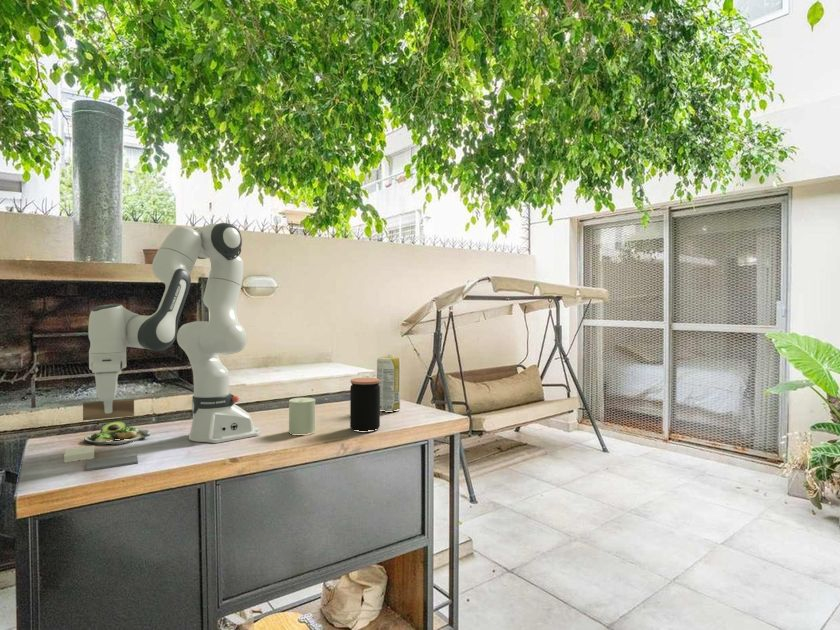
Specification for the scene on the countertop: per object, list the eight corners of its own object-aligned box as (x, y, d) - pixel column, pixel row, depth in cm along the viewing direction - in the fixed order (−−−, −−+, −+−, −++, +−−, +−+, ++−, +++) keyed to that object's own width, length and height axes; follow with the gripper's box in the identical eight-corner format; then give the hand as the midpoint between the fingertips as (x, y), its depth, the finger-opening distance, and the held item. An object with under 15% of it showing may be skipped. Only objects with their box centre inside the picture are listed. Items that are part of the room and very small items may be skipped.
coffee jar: (371, 424, 186) (371, 376, 185) (385, 430, 177) (385, 380, 176) (345, 428, 180) (345, 378, 180) (358, 434, 171) (358, 382, 171)
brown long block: (83, 418, 136) (83, 402, 136) (134, 413, 142) (134, 398, 142) (82, 420, 134) (82, 404, 134) (133, 416, 140) (133, 400, 140)
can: (287, 436, 168) (287, 401, 167) (289, 429, 177) (289, 396, 176) (315, 435, 170) (315, 400, 169) (315, 428, 179) (315, 395, 178)
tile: (94, 459, 142) (94, 452, 149) (94, 452, 142) (94, 445, 149) (64, 463, 139) (65, 456, 145) (64, 456, 139) (65, 449, 145)
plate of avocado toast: (167, 434, 171) (167, 421, 170) (125, 449, 153) (125, 434, 153) (120, 430, 175) (120, 417, 175) (75, 444, 158) (74, 430, 157)
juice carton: (402, 410, 210) (403, 354, 209) (390, 414, 204) (390, 356, 203) (386, 407, 215) (386, 353, 215) (373, 410, 209) (374, 354, 209)
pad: (136, 456, 144) (136, 454, 144) (137, 463, 138) (137, 461, 138) (87, 463, 138) (87, 461, 138) (86, 470, 132) (86, 468, 132)
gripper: (97, 358, 145) (98, 405, 145) (91, 367, 127) (92, 420, 128) (122, 357, 148) (123, 403, 149) (120, 365, 130) (121, 417, 131)
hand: (109, 411), depth 138 cm, fingers closed on brown long block, 3 cm apart
